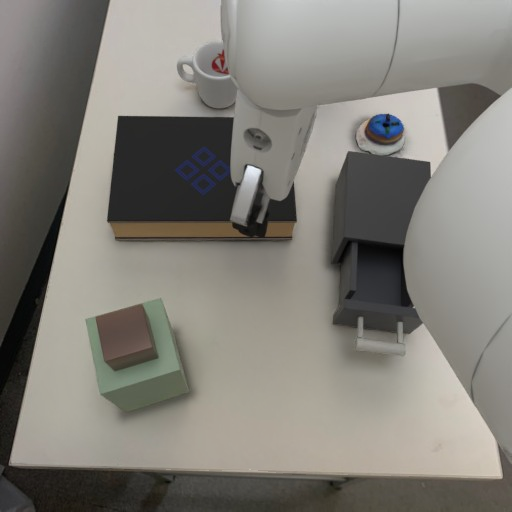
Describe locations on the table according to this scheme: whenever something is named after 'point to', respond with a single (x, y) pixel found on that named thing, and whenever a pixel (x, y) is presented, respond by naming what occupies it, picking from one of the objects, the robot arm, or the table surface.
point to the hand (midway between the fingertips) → (265, 189)
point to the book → (181, 182)
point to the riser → (142, 366)
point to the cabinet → (376, 200)
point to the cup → (210, 74)
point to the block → (126, 337)
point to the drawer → (375, 295)
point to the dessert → (381, 134)
